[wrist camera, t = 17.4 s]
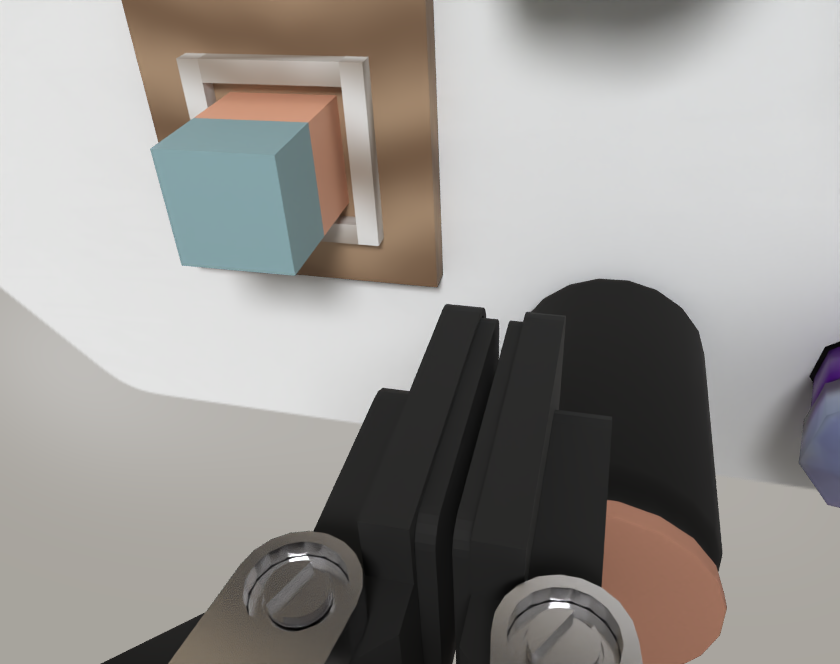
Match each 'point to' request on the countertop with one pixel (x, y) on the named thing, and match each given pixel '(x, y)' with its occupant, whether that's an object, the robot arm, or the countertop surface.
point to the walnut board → (320, 75)
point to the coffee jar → (649, 459)
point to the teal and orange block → (254, 181)
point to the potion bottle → (824, 427)
